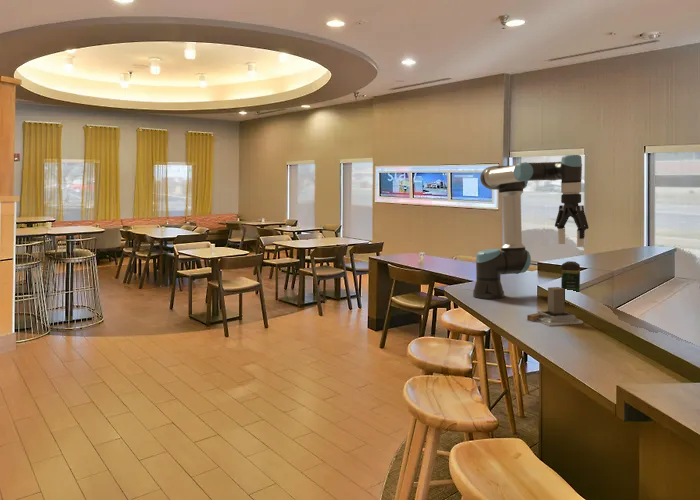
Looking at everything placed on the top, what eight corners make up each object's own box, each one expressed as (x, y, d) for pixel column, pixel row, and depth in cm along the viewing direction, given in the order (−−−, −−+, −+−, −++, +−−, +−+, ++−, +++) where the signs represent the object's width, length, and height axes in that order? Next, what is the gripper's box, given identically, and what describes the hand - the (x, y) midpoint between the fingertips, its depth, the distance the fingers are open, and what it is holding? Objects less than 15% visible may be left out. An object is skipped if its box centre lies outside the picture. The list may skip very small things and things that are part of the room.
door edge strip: (527, 320, 204) (527, 315, 204) (553, 314, 212) (553, 309, 212) (532, 321, 202) (532, 316, 201) (558, 315, 210) (558, 310, 209)
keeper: (530, 317, 207) (530, 310, 207) (562, 315, 209) (562, 308, 209) (548, 326, 194) (548, 318, 193) (582, 323, 196) (582, 315, 195)
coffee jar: (579, 303, 231) (580, 263, 229) (560, 302, 234) (561, 262, 232) (579, 299, 239) (580, 260, 238) (561, 298, 243) (561, 260, 241)
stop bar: (547, 317, 203) (547, 287, 202) (558, 316, 204) (558, 286, 203) (553, 319, 199) (553, 289, 198) (564, 319, 200) (564, 288, 198)
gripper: (598, 192, 195) (597, 247, 197) (562, 193, 220) (562, 242, 222) (580, 193, 194) (580, 248, 196) (546, 194, 219) (546, 243, 221)
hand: (570, 245), depth 209 cm, fingers open, 13 cm apart
